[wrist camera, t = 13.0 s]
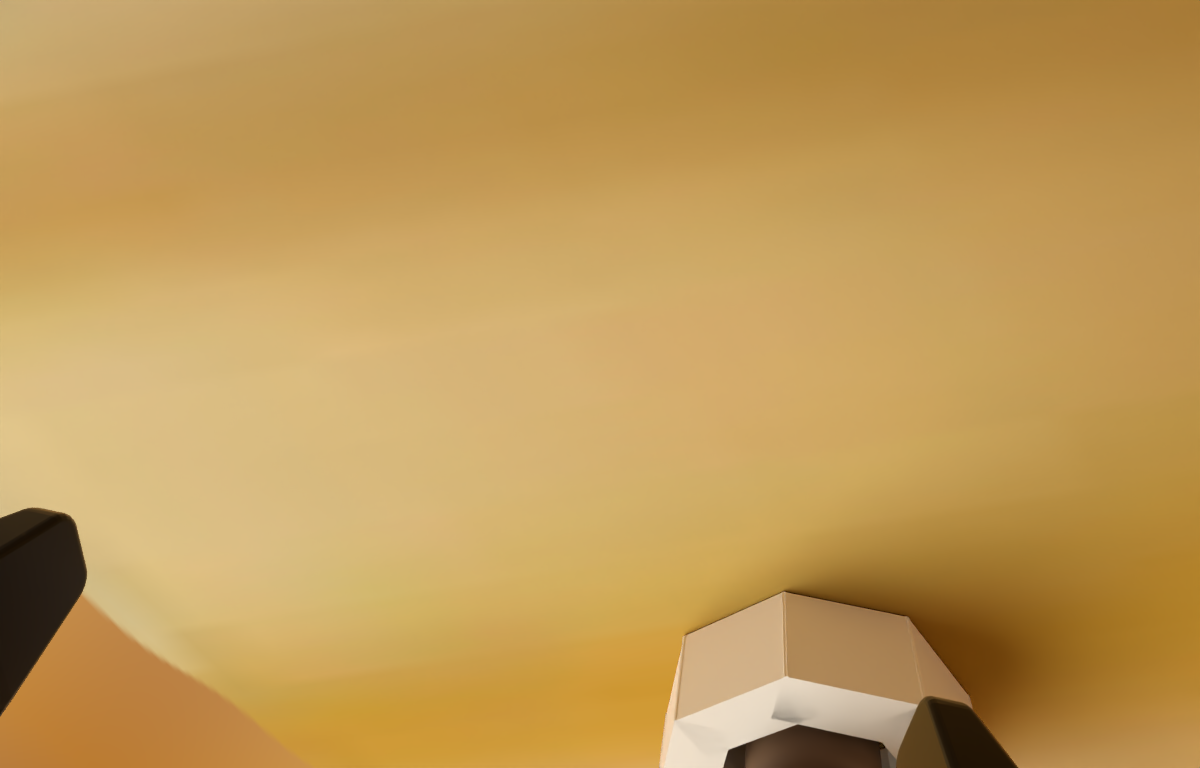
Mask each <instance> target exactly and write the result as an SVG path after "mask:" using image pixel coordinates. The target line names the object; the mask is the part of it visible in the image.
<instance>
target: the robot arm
mask: <svg viewBox="0 0 1200 768" xmlns="http://www.w3.org/2000/svg"><path fill="white" fill-rule="evenodd" d="M86 579H87V569H86V564H85V560H84V556H83V551H82V547H81V543H80V539H79V535H78V530H77V526H76V523H75V521H74V520H73V519H72V518H71V516H69V515H67V514H65V513H61V512H56V511H51V510H47V509H42V508H27V509H24V510H21V511H18V512H15V513H13V514H10V515H7V516H5V517H2V518H0V716H1V715H2V713H3V712H4V710H5V709H6V707H7V706H8V705H9V703H10V702H11V700H12V699H13V697H14V696H15V694H16V693H17V691H18V690H19V688H20V687H21V685H22V684H23V682H24V681H25V679H26V678H27V676H28V674H29V673H30V671H31V670H32V668H33V667H34V665H35V664H36V662H37V661H38V659H39V658H40V656H41V655H42V653H43V652H44V650H45V649H46V647H47V646H48V644H49V643H50V641H51V640H52V638H53V637H54V635H55V633H56V632H57V630H58V629H59V627H60V626H61V624H62V623H63V621H64V620H65V618H66V617H67V615H68V614H69V612H70V611H71V609H72V608H73V606H74V604H75V603H76V602H77V600H78V598H79V597H80V595H81V593H82V591H83V589H84V586H85V583H86ZM896 768H1018V767H1017V765H1016V764H1015V763H1014V762H1013V760H1012V759H1011V758H1010V756H1009V755H1008V754H1007V753H1006V751H1005V750H1004V749H1003V747H1002V746H1001V745H1000V744H999V742H998V741H997V740H996V738H995V737H994V736H993V735H992V733H991V732H990V731H989V729H988V728H987V727H986V726H985V724H984V723H983V722H982V720H981V719H980V718H979V717H978V715H977V714H976V713H975V712H974V710H973V709H972V708H971V707H969V706H968V705H967V704H965V703H962V702H958V701H954V700H949V699H944V698H940V697H935V696H926V697H924V698H923V699H922V700H921V701H920V702H919V704H918V706H917V708H916V711H915V713H914V715H913V718H912V720H911V722H910V724H909V727H908V729H907V731H906V734H905V736H904V738H903V741H902V743H901V745H900V748H899V751H898V755H897V760H896Z"/></svg>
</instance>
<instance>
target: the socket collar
mask: <svg viewBox="0 0 1200 768" xmlns="http://www.w3.org/2000/svg"><path fill="white" fill-rule="evenodd" d="M926 696H935V697H940V698H944V699H949V700H954V701H958V702H962V703H965V704H967V705H968V706H969V707H971V708H972V704H971V700H970V697H969V695H968V694H967V693H966V692H965V691H964V689H963V688H962V687H961V685H960V684H959V683H958V682H957V680H956V679H955V678H954V676H953V675H952V674H951V673H950V671H949V670H948V669H947V667H946V666H945V665H944V663H943V662H942V661H941V660H940V658H939V657H938V656H937V654H936V653H935V652H934V650H933V649H932V648H931V647H930V645H929V644H928V643H927V641H926V640H925V639H924V638H923V636H922V635H921V634H920V632H919V631H918V630H917V628H916V627H915V626H914V625H913V623H912V622H911V621H910V618H909V617H907V616H900V615H895V614H891V613H886V612H881V611H876V610H871V609H866V608H861V607H856V606H851V605H846V604H841V603H836V602H831V601H826V600H821V599H817V598H812V597H807V596H802V595H797V594H792V593H787V592H782V593H780V594H778V595H776V596H773V597H771V598H769V599H767V600H764V601H762V602H760V603H758V604H755V605H753V606H751V607H749V608H746V609H744V610H742V611H740V612H737V613H735V614H733V615H731V616H728V617H726V618H724V619H722V620H719V621H717V622H715V623H713V624H710V625H708V626H706V627H704V628H701V629H699V630H697V631H695V632H692V633H690V634H688V635H684V636H683V641H682V648H681V652H680V657H679V661H678V666H677V670H676V675H675V679H674V684H673V688H672V692H671V697H670V701H669V706H668V710H667V713H666V716H665V724H664V732H663V740H662V748H661V755H660V763H659V768H745V751H746V743H748V742H751V741H753V740H756V739H759V738H762V737H764V736H767V735H770V734H772V733H775V732H778V731H781V730H783V729H786V728H789V727H791V726H794V725H797V724H799V725H804V726H809V727H813V728H818V729H822V730H827V731H832V732H836V733H841V734H845V735H850V736H855V737H859V738H864V739H869V740H873V741H878V742H882V743H883V744H884V745H885V747H886V748H884V749H881V750H880V754H881V761H882V768H896V760H897V755H898V751H899V748H900V745H901V743H902V741H903V738H904V736H905V734H906V731H907V729H908V727H909V724H910V722H911V720H912V718H913V715H914V713H915V711H916V708H917V706H918V704H919V702H920V701H921V700H922V699H923V698H924V697H926ZM972 709H973V708H972Z"/></svg>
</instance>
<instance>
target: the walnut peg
mask: <svg viewBox="0 0 1200 768" xmlns="http://www.w3.org/2000/svg"><path fill="white" fill-rule="evenodd" d="M745 768H882V761H881V754H880V747H879V742H878V741H873V740H869V739H864V738H859V737H855V736H850V735H845V734H841V733H836V732H832V731H827V730H822V729H818V728H813V727H809V726H804V725H799V724H797V725H794V726H791V727H789V728H786V729H783V730H781V731H778V732H775V733H772V734H770V735H767V736H764V737H762V738H759V739H756V740H753V741H751V742H748V743H746V751H745Z"/></svg>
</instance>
